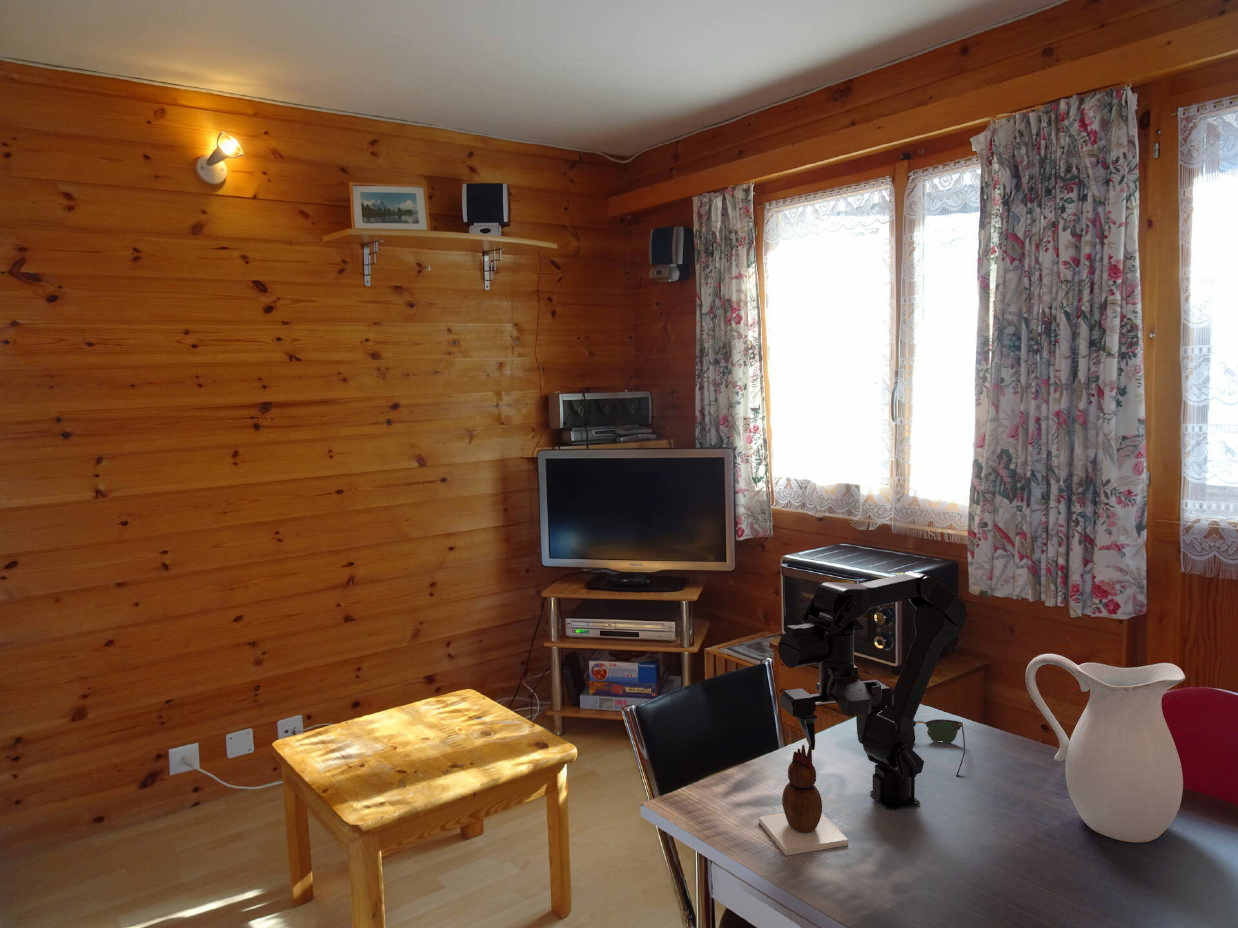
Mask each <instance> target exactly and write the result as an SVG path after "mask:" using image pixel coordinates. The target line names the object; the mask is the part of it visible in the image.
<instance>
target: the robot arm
mask: <svg viewBox="0 0 1238 928" xmlns="http://www.w3.org/2000/svg"><path fill="white" fill-rule="evenodd" d="M906 600H908V602H909V603H910V604H911V605H912V606H913V607H914V609H915V613H914V617H913V622H914V629H915V636H914V639H913V642H912V644H911V646H910V648H909V649H910V650H909V652H908V654H907V656H906V658H905V661H904V664H903V665H902V668H901V671H900V674H899V676H898V679H897V680H896V683H895V685H894V688H893V689H891V688H890V687H889V686H887V685H886V684H884V683H882V682H881V681H879V680H877V679H873V680H872V679H871V680H861V679H860V675H859V673H860V672H859V671H860V670H859V669H858V668H859V667H858V666H856V665H855V632H858V631H863V630H864V629H865V626H864V625H863V624H862V623H860V621H859V620H858V619H860V618H861V617H862V618H863V617H864V616H865V615H866V614H867V612H868V611H869V610H871V609H873V608H879V607H882V606H885V605H891V604H894V603H899V602H902V601H906ZM968 614H969V613H968V610H967V608H966V605H965V602H964V601H963V600H962V599H960V598H957V597H956V596H955V595H954V594H953V593H951V592H949V590H947V589H945V588H944V587H942V586H941V585H939V584H938V582H936V580H934V578H933V577H931V576H930V575H929V574H926V573H925V574H924V573H921V572H918V571H917V572H916V571H911V570H910V571H906V572H904V573H902V574H898V575H891V576H888V577H884V578H879V579H874V580H870V581H865V582H861V583H860V582H859V583H849V582H848V583H847V582H841V581H840V582H839V581H838V582H834V581H833V582H829V581H827V582H823V583H820V584H819V585H818V586H817V588H816V591H815V592H814V594H813V597H812V599H811V600H810V602H809V604H808V605H807V607H806V610H805V611H804V613H803V615H802V616H801V618H800V622H801V623H802V624H795V625H793V624H791V625H786V627H785V633H783V634H782V635H781V637H780V639H779V641H778V644H777V648H778V650H777V651H778V654H779V658H780V660H781V661H782V663H783V664H784V665H785V666H786V667H787V668H789V669H795V668H801V667H803V666H804V667H805V666H810V665H814V664H815V666H816V667H818V668H819V682H816V683H815V685H816V686H815V687H816V688H815V689H817V690H818V691H819V693H812V694H811V693H808V692H807V691H806V690H805V689H804V688H794V689H792V688H791V689H786V690H785V689H784V690H783V691H782V693H781V695H780V696H779V705H780V707H781V708H782V709H783V710H785V711H786V712H787V713H788V714H790V716H792V717H795V718H796V719H797V721H798V724H799V725H800V728H801V729H802V732H803V735H804V737H805V740H806V742H807V744H808V746H809V745H812V751H814V750H815V749H816V731H815V729H816V728H815V722H816V720H817V718H818V716H817V715H816V714H815V712H816V710H817V709H816V708H817V707H818V706H824V705H825V706H826V705H832V704H837V706H838V707H839V708H840V710H841V711H840V712H841V713H842V714H843V715H844V716H846V717H853V716H856V717H855V718H856V719H855V720H856V721H855V722H856V734H857V741H858V742H859V743H860V744H861V745H862V747H863V750H864V752H865V754H866V756H867V760H868V761H869V762H872V763H874V773H872V790H870V791H869V793H870V795H871V796H872V797H873V798H874V799H875V800H876V801H877V802H879V803H880V804H881V806H883V807H885V808H886V809H887V810H895V809H901V808H907V807H914V806H915V807H916V806H920V804H921V802H920V800H918V799H917V798H916V796H915V795H916V794H915V793H916V781H915V780H916V778H917V775H919V774H921V773H922V772H923V768H924V763H925V760H923V758H922V757H921V756H920V755H919V754H918V753H916V752H915V750H914V746H915V743H916V731H915V732H914V730H915V727H914V724H913V720H914V721H915V716H916V714H917V711H918V710H919V707H920V704H921V702H922V699H923V698H924V694H925V693H926V689H927V687H928V684H929V683H930V680H931V677H932V675H933V672H934V670H935V668H936V665H937V663H938V660H939V658H940V656H941V654H942V651H943V648H944V647H945V646H946V645H947V644H949V643H950V642H952V641H953V640H955V639H956V638H957V636H959V634H960V632H961V630H962V628H963V627H964V625H965V623H966V622H967V621H966V620H967V619H968ZM820 615H821V616H824V617H827V618H828V619H827V618H823V617H821V616H820ZM829 618H830V619H832V620H829Z"/></svg>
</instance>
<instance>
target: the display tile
mask: <svg viewBox="0 0 1238 928" xmlns="http://www.w3.org/2000/svg"><path fill="white" fill-rule="evenodd" d="M758 824H760V826H761V827H762V828H763V829H764V831H765V832H766V833H767V834H768V835H769V837H770V838H771V839H772V840H773V842H774V843H775V844H776V845H777V847H778V846H779V847H778V848H779V849H780V850H781V852H782V853H783V854H784V855H785V856H791V855H797V854H803V853H810V852H815V851H823V850H828V849H833V848H839V847H845V846H848V845H849V839H848V838H847V836H845V834H843V833H842V832H841V830H839V829H838V827H837V826H836V825H834V823H832V821H831V820H829V818H828V817H827V816H826V815H825V814H824V813H823V812H822V814H821V818H820V821H819V823H818V825H817V827H816V829H815V830H813V831H811V832H799V831H796V830H794V829H793V828H792V827H791V826H790V825H789V824H788V822H787V819H786V816H785V813H784V812H783V813H775V814H770V815H769V814H768V815H762V816H758Z"/></svg>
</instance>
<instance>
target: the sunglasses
mask: <svg viewBox="0 0 1238 928" xmlns="http://www.w3.org/2000/svg"><path fill="white" fill-rule="evenodd" d="M913 724H914V728H915V727H916V725H917V724H924V725H925V727H926V728H927V731H926V734H927V736H928V737H929V738H930V740H931V741H932V742H933V741H943V742H950V743H949V744H951V743H953V742H954V741H955V740H956V738H957V736H958V735H957V734H958V732H959V731H960V730H961V731H962V740H963V742H962V743H963V753H962V757H961V761H960V763H959V767H958V769H957V773H956V775H955V778H957V777H958V776H959V773H960V769H961V767H962V764H963V760H964V757H965V753H966V739H965V729H964V725H963V724H964V723H963V721H959V720H954V719H953V720H952V719H941V718H940V719H939V718H938V719H932V720H928V721H923V720H917V721H915V719H914V720H913ZM915 730H916V729H914V732H915V733H916V731H915ZM943 742H942V743H943Z"/></svg>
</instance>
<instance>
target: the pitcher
mask: <svg viewBox="0 0 1238 928" xmlns="http://www.w3.org/2000/svg"><path fill="white" fill-rule="evenodd" d="M1044 665H1055V666H1058V667H1060V668H1062V669H1064V670H1066V671H1067V672H1068V673H1070V674H1071V675H1072V676H1073V677H1074V678H1075V679H1076V681H1078V685H1079V687H1080V691H1081V692H1083V693H1084V692H1088V691H1089V690H1090V691H1089V698H1088V701H1087V704H1086V706H1085V709H1084V710H1083V712H1082V714H1081V716H1080V718H1079V719H1078V722H1077V723H1076V725H1075V728H1074V729H1073V732H1072V733H1071V736H1070V739H1069V737H1068V735H1067V734H1066V732H1065V730H1064V729H1063V728H1062V726H1061V725H1060V723H1059V721H1058V720H1057V719H1056V717H1055V715H1054V714H1053V713H1052V712H1051V710H1050V708H1049V707H1048V705H1047V704H1046V703H1045V701H1044V699H1043V697H1042V696H1041V692H1040V691H1039V689H1038V686H1037V681H1036V674H1037V670H1038V669H1039V668H1040V667H1042V666H1044ZM1024 678H1025V681H1024V682H1025V685H1026V689H1027V692H1028V694H1029V695H1030V697H1031V699H1032V701H1033V702H1034V705H1035V706H1036V707H1037V709H1038V710H1039V711H1040V712H1041V714H1042V716H1043V717H1044V718H1045V719H1046V720H1047V722H1048V724H1049V726H1050V727H1051V728H1052V730H1053V731H1054V733H1055V735H1056V736H1057V740H1058V743H1059V749H1058V751H1057V752H1056V754H1055V755H1054V757H1053V759H1054V761H1060V762H1061V761H1065V765H1064V766H1065V781H1066V782H1065V783H1066V786H1067V787H1066V788H1067V791H1068V794H1069V797H1070V798H1071V802H1072V803H1073V806H1074V807H1075V810H1076V811H1077V813H1078V815H1079V817H1080V818H1081V820H1082V821H1083V822H1084V824H1086V825H1087V827H1088V828H1090V829H1091V830H1093V831H1094V832H1096V833H1098V834H1100V835H1102V836H1105V837H1108V838H1110V839H1113V840H1118V841H1121V842H1127V843H1128V842H1129V843H1134V844H1135V843H1148V842H1151V841H1154V840H1156V839H1158V838H1159V837H1160V836H1162V834H1163V833H1164V832H1166V830H1167V829H1168V828H1169V827H1170V825H1172V823H1173V821H1174V820H1175V818H1176V816H1177V813H1178V812H1179V809H1180V807H1181V802H1182V797H1183V793H1184V792H1183V791H1184V777H1183V769H1182V763H1181V760H1180V756H1179V753H1178V750H1177V747H1176V744H1175V743H1176V742H1175V741H1174V738H1173V736H1172V733H1171V731H1170V729H1169V726H1168V724H1167V721H1166V719H1165V717H1164V713H1163V707H1162V699H1163V696H1164V694H1165V693H1167V691H1168V690H1170V689H1171V688H1173V687H1175V686H1176V685H1179V684H1181V683H1182V682H1184V681H1185V680H1186V675H1185V673H1184V672H1183V670H1182V669H1181V668H1180V667H1179V666H1177V665H1175V664H1174V663H1169V662H1161V663H1155V664H1150V665H1143V666H1138V667H1137V666H1136V667H1118V666H1113V665H1108V664H1104V663H1098V662H1085V663H1081V664H1079V665H1078V664H1076V663H1075V662H1074V661H1072V660H1070V659H1069V658H1067V657H1065V656H1063V655H1061V654H1060V655H1059V654H1055V653H1043V654H1039V655H1037V656H1036V657H1034V658H1032V660H1030V662H1029V663H1028V664H1027V667H1026V670H1025V677H1024Z"/></svg>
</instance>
